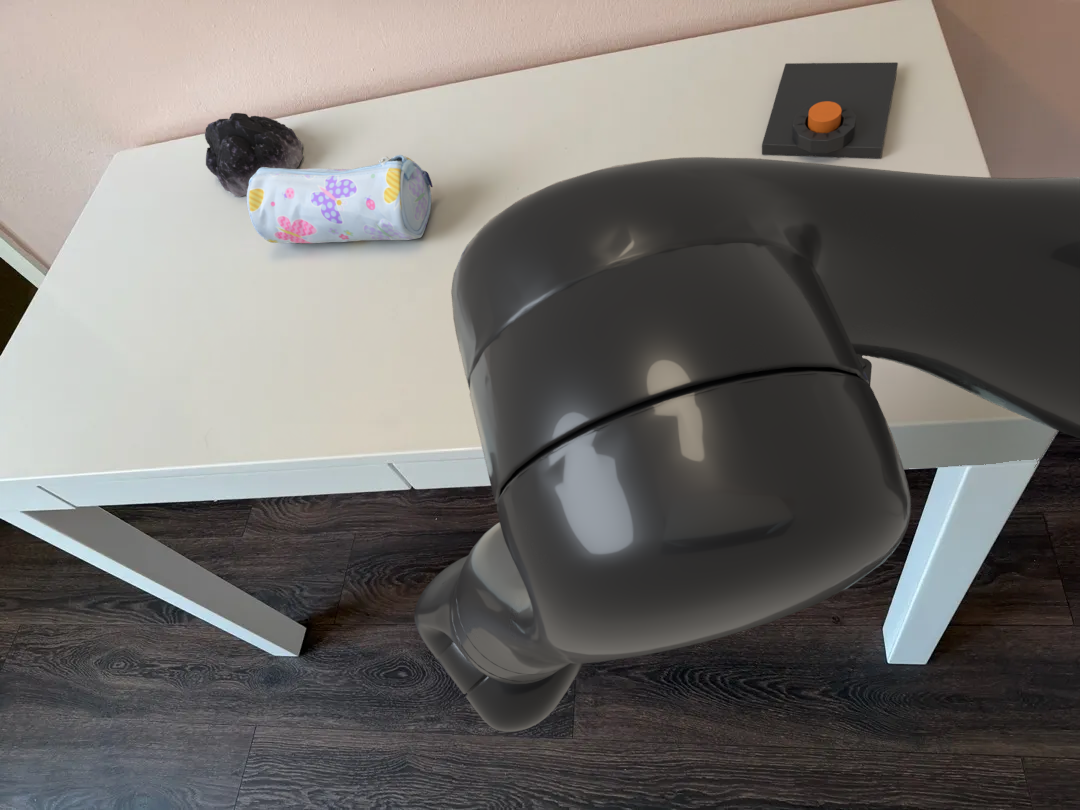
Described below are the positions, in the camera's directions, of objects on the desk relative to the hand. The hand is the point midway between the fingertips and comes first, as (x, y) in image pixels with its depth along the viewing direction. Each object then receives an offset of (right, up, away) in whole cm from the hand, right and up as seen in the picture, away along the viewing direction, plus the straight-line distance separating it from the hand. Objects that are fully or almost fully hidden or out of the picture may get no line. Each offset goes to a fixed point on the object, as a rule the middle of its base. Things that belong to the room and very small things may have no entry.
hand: (874, 308), depth 53 cm
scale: (+9, +26, +32) cm, 42 cm away
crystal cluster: (-61, +26, +53) cm, 85 cm away
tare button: (+7, +23, +27) cm, 36 cm away
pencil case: (-45, +14, +40) cm, 62 cm away
